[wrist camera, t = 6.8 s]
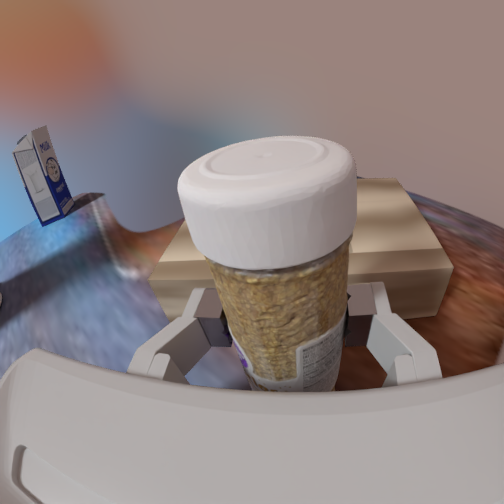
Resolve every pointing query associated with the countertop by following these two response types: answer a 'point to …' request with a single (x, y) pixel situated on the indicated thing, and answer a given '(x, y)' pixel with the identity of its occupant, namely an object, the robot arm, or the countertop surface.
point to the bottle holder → (360, 256)
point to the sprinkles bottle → (278, 252)
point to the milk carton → (42, 176)
